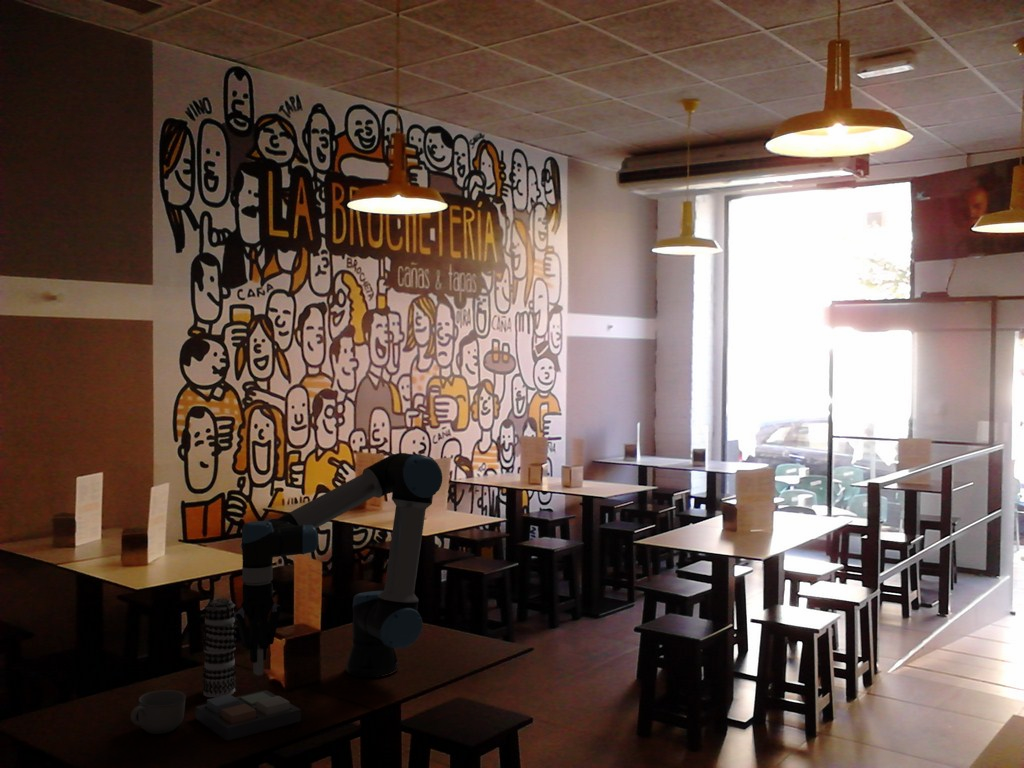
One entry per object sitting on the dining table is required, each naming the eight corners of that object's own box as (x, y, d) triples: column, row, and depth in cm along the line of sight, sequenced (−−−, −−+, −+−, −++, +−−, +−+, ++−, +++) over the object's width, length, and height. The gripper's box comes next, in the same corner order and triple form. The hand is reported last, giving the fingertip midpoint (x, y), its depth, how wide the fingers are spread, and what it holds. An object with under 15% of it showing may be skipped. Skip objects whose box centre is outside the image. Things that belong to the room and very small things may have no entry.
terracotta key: (244, 715, 219) (245, 703, 219) (255, 722, 214) (255, 710, 214) (221, 721, 215) (221, 709, 215) (232, 728, 210) (232, 716, 210)
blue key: (229, 706, 226) (229, 694, 226) (239, 712, 221) (239, 700, 221) (206, 711, 222) (206, 699, 222) (216, 718, 217) (216, 706, 217)
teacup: (171, 718, 222) (171, 686, 222) (194, 728, 215) (194, 695, 215) (116, 734, 211) (117, 700, 211) (139, 746, 204) (139, 711, 205)
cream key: (278, 707, 225) (278, 695, 225) (289, 713, 220) (289, 701, 220) (256, 712, 221) (256, 700, 221) (267, 719, 216) (267, 707, 216)
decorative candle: (194, 693, 240) (195, 601, 240) (223, 684, 248) (223, 595, 248) (214, 700, 235) (215, 606, 235) (243, 691, 242) (244, 599, 243)
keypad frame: (266, 701, 234) (266, 690, 234) (300, 721, 220) (300, 709, 220) (195, 718, 222) (195, 706, 222) (227, 741, 207) (227, 728, 207)
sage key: (262, 703, 231) (262, 692, 231) (273, 709, 227) (273, 698, 227) (240, 708, 227) (240, 697, 228) (251, 715, 223) (251, 703, 223)
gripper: (274, 576, 235) (275, 665, 235) (227, 583, 226) (227, 675, 226) (287, 580, 229) (288, 671, 229) (239, 588, 220) (240, 683, 220)
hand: (258, 673), depth 227 cm, fingers closed
